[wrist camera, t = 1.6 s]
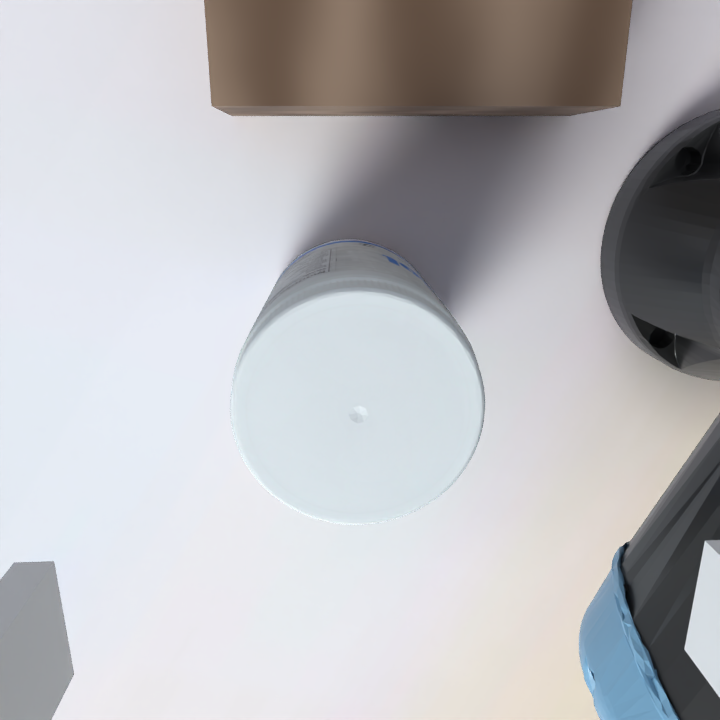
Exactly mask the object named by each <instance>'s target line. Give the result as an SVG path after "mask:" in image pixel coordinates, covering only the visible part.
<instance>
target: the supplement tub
mask: <svg viewBox="0 0 720 720" xmlns="http://www.w3.org/2000/svg"><path fill="white" fill-rule="evenodd" d="M484 412H485V394H484V386H483V381H482V377H481V373H480V370H479V367H478V363H477V360H476V357H475V354H474V351H473V349H472V347H471V344H470V342H469V341H468V339H467V337H466V335H465V334H464V332H463V331H462V329H461V328H460V326H459V325H458V323H457V322H456V320H455V319H454V318H453V316H452V315H451V314H450V313H449V311H448V310H447V309H446V308H445V306H444V305H443V304H442V303H441V301H440V300H439V299H438V298H437V296H436V295H435V294H434V292H433V291H432V290H431V289H430V287H429V286H428V285H427V283H426V282H425V281H424V280H423V278H422V277H421V276H420V274H419V273H418V272H417V271H416V270H415V269H414V268H413V267H412V266H411V265H410V264H409V263H408V262H407V261H406V260H405V259H404V258H403V257H401V256H400V255H398V254H397V253H395V252H393V251H392V250H390V249H388V248H386V247H384V246H382V245H379V244H376V243H373V242H370V241H365V240H358V239H345V240H335V241H331V242H327V243H323V244H320V245H318V246H316V247H313V248H312V249H310V250H308V251H306V252H304V253H303V254H301V255H300V256H299V257H297V258H296V259H295V260H294V261H293V262H292V263H291V264H290V265H289V266H288V267H287V268H286V269H285V270H284V272H283V273H282V274H281V276H280V277H279V279H278V281H277V282H276V284H275V286H274V288H273V290H272V292H271V294H270V295H269V297H268V299H267V301H266V303H265V305H264V307H263V308H262V310H261V312H260V314H259V316H258V318H257V320H256V322H255V323H254V325H253V327H252V329H251V331H250V333H249V335H248V337H247V339H246V341H245V343H244V345H243V347H242V349H241V352H240V354H239V357H238V360H237V363H236V366H235V371H234V376H233V383H232V391H231V400H230V416H231V424H232V429H233V434H234V438H235V441H236V444H237V447H238V450H239V452H240V454H241V456H242V458H243V460H244V462H245V464H246V465H247V467H248V469H249V470H250V471H251V473H252V474H253V475H254V477H255V478H256V479H257V481H258V482H259V483H260V484H261V485H262V486H263V487H264V488H265V489H266V490H267V491H268V492H269V493H270V494H271V495H273V496H274V497H275V498H276V499H278V500H279V501H281V502H282V503H284V504H285V505H287V506H288V507H290V508H292V509H294V510H296V511H298V512H300V513H302V514H304V515H307V516H309V517H312V518H315V519H318V520H322V521H326V522H331V523H337V524H346V525H365V524H374V523H381V522H385V521H390V520H393V519H397V518H400V517H403V516H405V515H408V514H410V513H412V512H415V511H417V510H418V509H420V508H422V507H424V506H426V505H427V504H429V503H430V502H432V501H433V500H435V499H436V498H438V497H439V496H440V495H441V494H442V493H444V492H445V491H446V490H447V489H448V488H449V487H450V486H451V485H452V484H453V483H454V482H455V481H456V480H457V478H458V477H459V476H460V475H461V473H462V472H463V471H464V469H465V468H466V466H467V464H468V463H469V461H470V459H471V458H472V456H473V453H474V451H475V449H476V447H477V444H478V441H479V438H480V435H481V431H482V427H483V422H484Z"/></svg>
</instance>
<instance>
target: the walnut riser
mask: <svg viewBox="0 0 720 720" xmlns="http://www.w3.org/2000/svg"><path fill="white" fill-rule="evenodd" d="M204 4H205V18H206V32H207V46H208V60H209V75H210V89H211V103H212V106H213V107H215V108H217V109H219V110H221V111H223V112H225V113H227V114H229V115H231V116H571V115H576V114H581V113H587V112H592V111H597V110H603V109H608V108H613V107H618V106H620V105H621V96H622V87H623V78H624V70H625V61H626V52H627V44H628V35H629V26H630V17H631V9H632V0H204Z"/></svg>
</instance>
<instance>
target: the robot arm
mask: <svg viewBox="0 0 720 720" xmlns="http://www.w3.org/2000/svg"><path fill="white" fill-rule="evenodd" d="M601 277H602V284H603V289H604V293H605V297H606V300H607V303H608V305H609V308H610V310H611V312H612V314H613V316H614V318H615V320H616V322H617V323H618V325H619V326H620V328H621V329H622V330H623V332H624V333H625V334H626V335H627V337H628V338H629V339H630V340H631V341H632V342H633V343H634V344H635V345H637V346H638V347H639V348H640V349H642V350H643V351H644V352H646V353H647V354H649V355H650V356H652V357H654V358H655V359H657V360H659V361H661V362H662V363H664V364H666V365H667V366H669V367H671V368H673V369H675V370H678V371H680V372H682V373H685V374H688V375H691V376H695V377H699V378H703V379H708V380H716V381H720V109H719V110H716V111H713V112H710V113H707V114H704V115H702V116H700V117H698V118H695V119H693V120H691V121H689V122H688V123H686V124H684V125H682V126H681V127H679V128H677V129H676V130H674V131H673V132H671V133H670V134H669V135H667V136H666V137H665V138H663V139H662V140H661V141H660V142H659V143H657V144H656V145H655V146H654V147H653V148H652V149H651V150H650V151H649V152H648V153H647V154H646V155H645V156H644V157H643V158H642V159H641V161H640V162H639V163H638V164H637V166H636V167H635V168H634V169H633V171H632V172H631V173H630V175H629V176H628V178H627V179H626V181H625V183H624V184H623V186H622V187H621V189H620V191H619V193H618V195H617V197H616V199H615V201H614V203H613V206H612V208H611V211H610V214H609V216H608V219H607V223H606V226H605V230H604V235H603V241H602V247H601ZM579 654H580V661H581V667H582V670H583V673H584V679H585V682H586V684H587V686H588V688H589V690H590V692H591V694H592V696H593V698H594V706H595V708H596V711H597V713H598V715H599V718H600V720H720V413H719V415H718V416H717V418H716V419H715V420H714V422H713V423H712V425H711V426H710V428H709V429H708V430H707V432H706V433H705V435H704V436H703V438H702V439H701V441H700V442H699V443H698V445H697V446H696V448H695V449H694V451H693V452H692V453H691V455H690V456H689V458H688V459H687V461H686V462H685V464H684V465H683V466H682V468H681V469H680V471H679V472H678V474H677V475H676V476H675V478H674V479H673V481H672V482H671V484H670V485H669V486H668V488H667V489H666V491H665V492H664V494H663V495H662V497H661V498H660V499H659V501H658V502H657V504H656V505H655V507H654V508H653V509H652V511H651V512H650V514H649V515H648V517H647V518H646V519H645V521H644V522H643V524H642V525H641V527H640V528H639V530H638V531H637V532H636V534H635V535H634V537H633V538H632V540H631V541H629V542H626V543H625V544H624V545H623V546H622V547H619V549H618V550H617V552H616V553H615V555H614V558H613V561H612V569H611V571H610V572H609V574H608V576H607V577H606V579H605V581H604V582H603V584H602V585H601V587H600V589H599V590H598V592H597V594H596V595H595V597H594V599H593V600H592V602H591V603H590V605H589V607H588V608H587V610H586V612H585V615H584V617H583V620H582V623H581V627H580V633H579ZM73 675H74V671H73V665H72V659H71V654H70V648H69V643H68V637H67V631H66V626H65V620H64V615H63V609H62V603H61V598H60V592H59V587H58V581H57V575H56V570H55V564H54V561H52V562H21V563H13V565H12V566H11V567H10V569H9V570H8V571H7V572H6V574H5V575H4V576H3V577H2V579H1V580H0V720H51V719H52V717H53V715H54V713H55V711H56V709H57V707H58V705H59V703H60V701H61V699H62V697H63V695H64V693H65V691H66V689H67V687H68V685H69V683H70V681H71V679H72V677H73Z"/></svg>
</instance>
